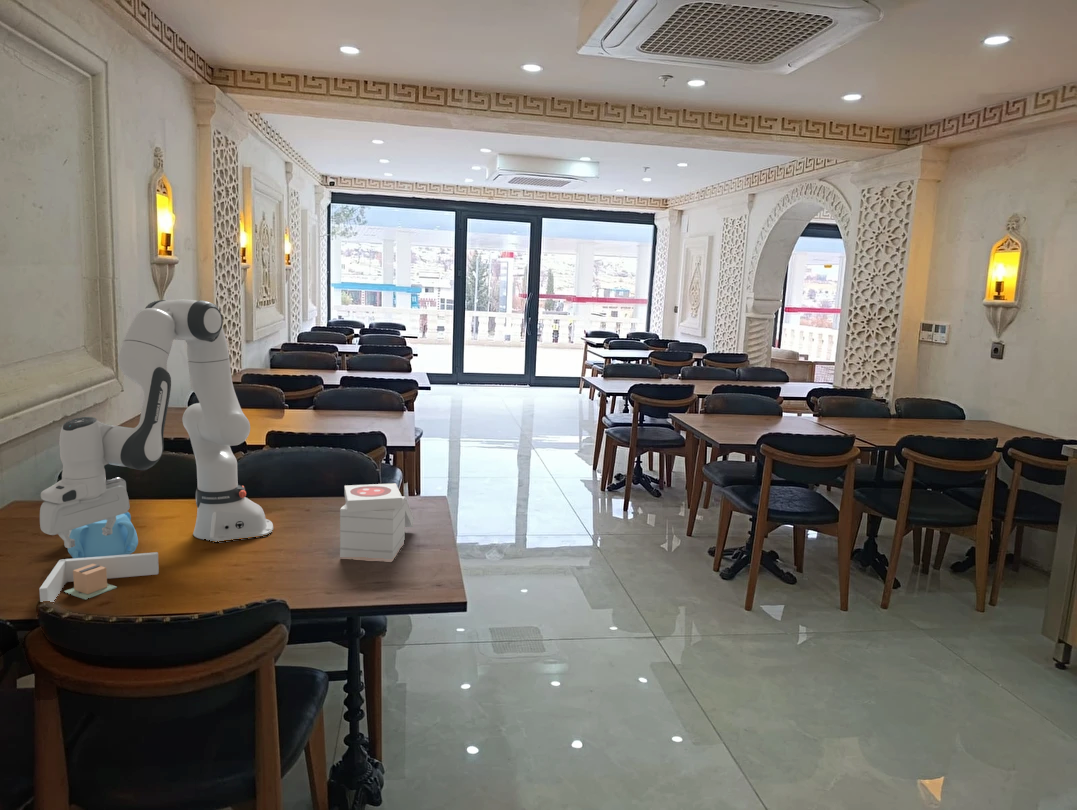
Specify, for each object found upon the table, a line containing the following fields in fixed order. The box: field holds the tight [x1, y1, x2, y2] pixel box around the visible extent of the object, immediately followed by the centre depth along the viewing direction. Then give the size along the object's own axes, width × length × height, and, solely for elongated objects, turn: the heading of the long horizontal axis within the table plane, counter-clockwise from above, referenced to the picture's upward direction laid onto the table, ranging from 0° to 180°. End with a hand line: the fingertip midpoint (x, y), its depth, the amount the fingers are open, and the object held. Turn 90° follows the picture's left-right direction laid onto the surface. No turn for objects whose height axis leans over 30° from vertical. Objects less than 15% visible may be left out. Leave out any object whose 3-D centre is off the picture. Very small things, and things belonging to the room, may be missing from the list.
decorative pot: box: [67, 511, 139, 559], centre depth 200 cm, size 16×16×14 cm
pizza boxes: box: [339, 482, 415, 559], centre depth 218 cm, size 19×30×18 cm, turn 177°
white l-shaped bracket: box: [38, 551, 160, 603], centre depth 181 cm, size 22×18×6 cm
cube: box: [73, 564, 108, 594], centre depth 181 cm, size 5×5×5 cm
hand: (89, 540), depth 180 cm, fingers open, 8 cm apart
